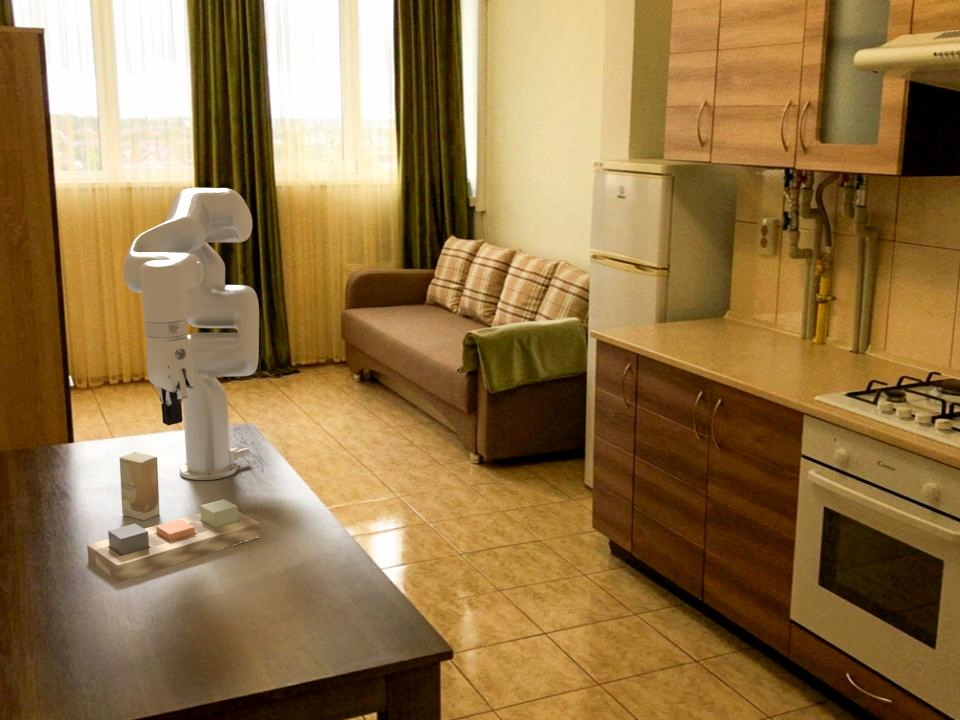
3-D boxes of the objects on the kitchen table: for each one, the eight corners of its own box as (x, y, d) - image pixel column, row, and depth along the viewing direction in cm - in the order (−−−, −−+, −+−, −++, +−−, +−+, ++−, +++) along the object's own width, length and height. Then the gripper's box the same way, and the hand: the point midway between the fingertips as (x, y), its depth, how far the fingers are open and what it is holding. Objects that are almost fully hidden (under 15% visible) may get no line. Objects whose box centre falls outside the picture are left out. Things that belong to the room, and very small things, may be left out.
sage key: (224, 517, 197) (223, 499, 196) (238, 525, 193) (237, 506, 192) (201, 524, 193) (200, 505, 193) (214, 532, 190) (213, 512, 189)
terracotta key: (182, 538, 191) (181, 519, 190) (195, 546, 188) (194, 526, 187) (157, 545, 188) (156, 526, 187) (170, 553, 184) (169, 534, 183)
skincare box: (121, 515, 203) (117, 456, 201) (138, 508, 207) (134, 450, 204) (145, 521, 200) (141, 462, 198) (161, 514, 204) (157, 456, 201)
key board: (227, 520, 201) (226, 505, 201) (260, 537, 193) (259, 522, 192) (88, 560, 182) (87, 544, 182) (118, 581, 174) (117, 565, 173)
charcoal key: (136, 543, 185) (134, 523, 184) (149, 551, 181) (148, 531, 180) (109, 550, 181) (108, 530, 180) (122, 559, 178) (120, 539, 177)
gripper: (205, 332, 184) (211, 428, 189) (164, 317, 194) (171, 409, 199) (167, 339, 179) (174, 437, 184) (127, 324, 189) (135, 417, 194)
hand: (172, 422), depth 192 cm, fingers closed
